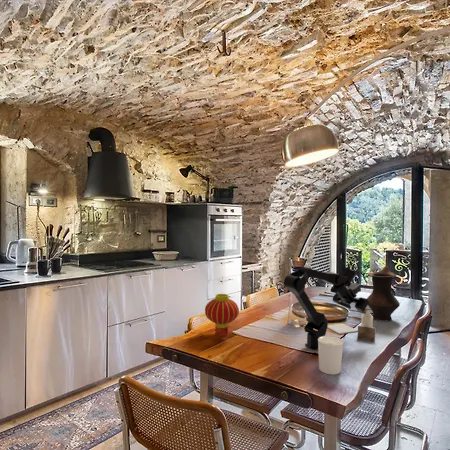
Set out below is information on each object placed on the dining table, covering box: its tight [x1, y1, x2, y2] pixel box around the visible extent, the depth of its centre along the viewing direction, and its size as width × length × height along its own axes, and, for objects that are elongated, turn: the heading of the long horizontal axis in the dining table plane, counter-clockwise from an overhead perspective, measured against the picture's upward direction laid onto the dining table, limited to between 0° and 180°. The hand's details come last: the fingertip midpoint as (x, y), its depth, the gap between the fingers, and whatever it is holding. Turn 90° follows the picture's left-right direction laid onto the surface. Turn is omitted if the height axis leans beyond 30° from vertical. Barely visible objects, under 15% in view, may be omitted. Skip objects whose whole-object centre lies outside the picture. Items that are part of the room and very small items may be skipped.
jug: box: [366, 266, 400, 322], centre depth 209 cm, size 21×18×30 cm
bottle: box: [360, 306, 374, 328], centre depth 183 cm, size 6×5×14 cm
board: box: [327, 323, 358, 335], centre depth 190 cm, size 12×12×1 cm
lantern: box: [204, 275, 240, 337], centre depth 178 cm, size 17×17×30 cm
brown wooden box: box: [357, 324, 376, 342], centre depth 176 cm, size 8×4×6 cm, turn 66°
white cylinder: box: [317, 335, 345, 375], centre depth 141 cm, size 10×10×12 cm
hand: (357, 310), depth 179 cm, fingers open, 9 cm apart
